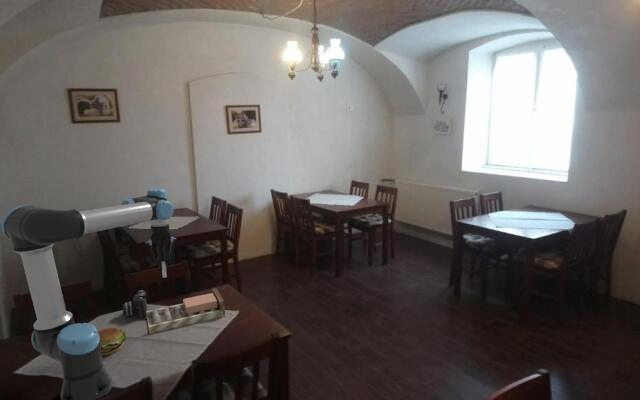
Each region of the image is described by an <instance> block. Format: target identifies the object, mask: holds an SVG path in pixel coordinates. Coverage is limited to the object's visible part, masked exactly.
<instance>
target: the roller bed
mask: <svg viewBox="0 0 640 400" xmlns="http://www.w3.org/2000/svg"><path fill="white" fill-rule="evenodd" d="M211 291H212V292H211V293H213V294H214V296H215V298H216V300H217V305H218V308H214V309H209V310H205V311H200V312H196V313H191V314H187V313H186V310H185V308H184V303H179V304H175V305H169V306H164V307H160V308H156V309H150V310H147V311H146V313H147V317H146V318H147V324H148V325H147V326H148V331H149V333H148V334H149V335H150V334H155V333H159V332H162V331H166V330H172V329H176V328H179V327H184V326H189V325H192V324H196V323H200V322H201V323H202V322H205V321H209V320H214V319H217V318H222V317H226V309H225V308H226V307H225V300H224V298H223V297H222V295H221V293H220V291H219V290H218V289H217V288H215V287H214V288H212V289H211Z"/></svg>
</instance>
